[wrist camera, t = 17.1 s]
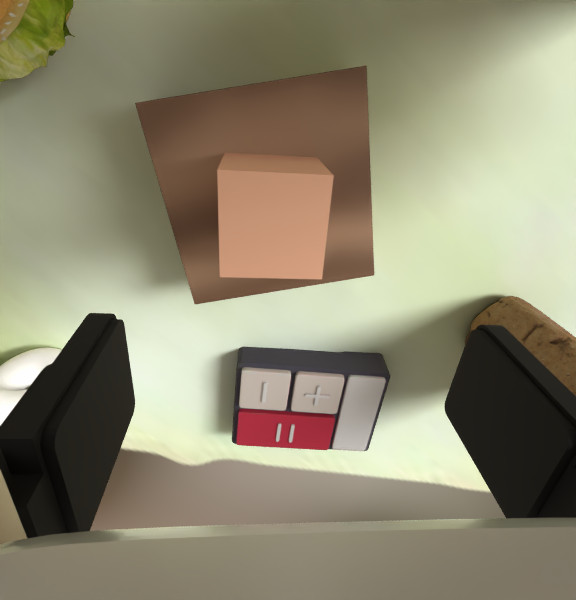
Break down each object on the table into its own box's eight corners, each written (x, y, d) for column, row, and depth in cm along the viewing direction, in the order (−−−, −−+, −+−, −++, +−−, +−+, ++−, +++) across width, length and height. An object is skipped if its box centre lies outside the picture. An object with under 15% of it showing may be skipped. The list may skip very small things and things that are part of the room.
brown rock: (446, 332, 40) (596, 520, 23) (506, 280, 38) (724, 445, 20) (506, 380, 44) (673, 572, 27) (563, 335, 42) (788, 515, 24)
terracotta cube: (224, 152, 25) (217, 169, 20) (317, 157, 26) (333, 175, 20) (226, 241, 28) (219, 277, 23) (309, 244, 28) (321, 279, 23)
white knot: (80, 316, 36) (33, 379, 28) (119, 411, 42) (88, 486, 34) (-44, 330, 36) (-128, 399, 28) (12, 424, 42) (-44, 503, 34)
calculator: (236, 367, 36) (393, 378, 37) (240, 340, 40) (382, 352, 41) (230, 450, 41) (369, 457, 42) (234, 419, 45) (361, 427, 46)
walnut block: (156, 100, 29) (135, 103, 23) (345, 69, 29) (366, 65, 23) (203, 272, 35) (194, 304, 30) (355, 247, 35) (374, 275, 30)
